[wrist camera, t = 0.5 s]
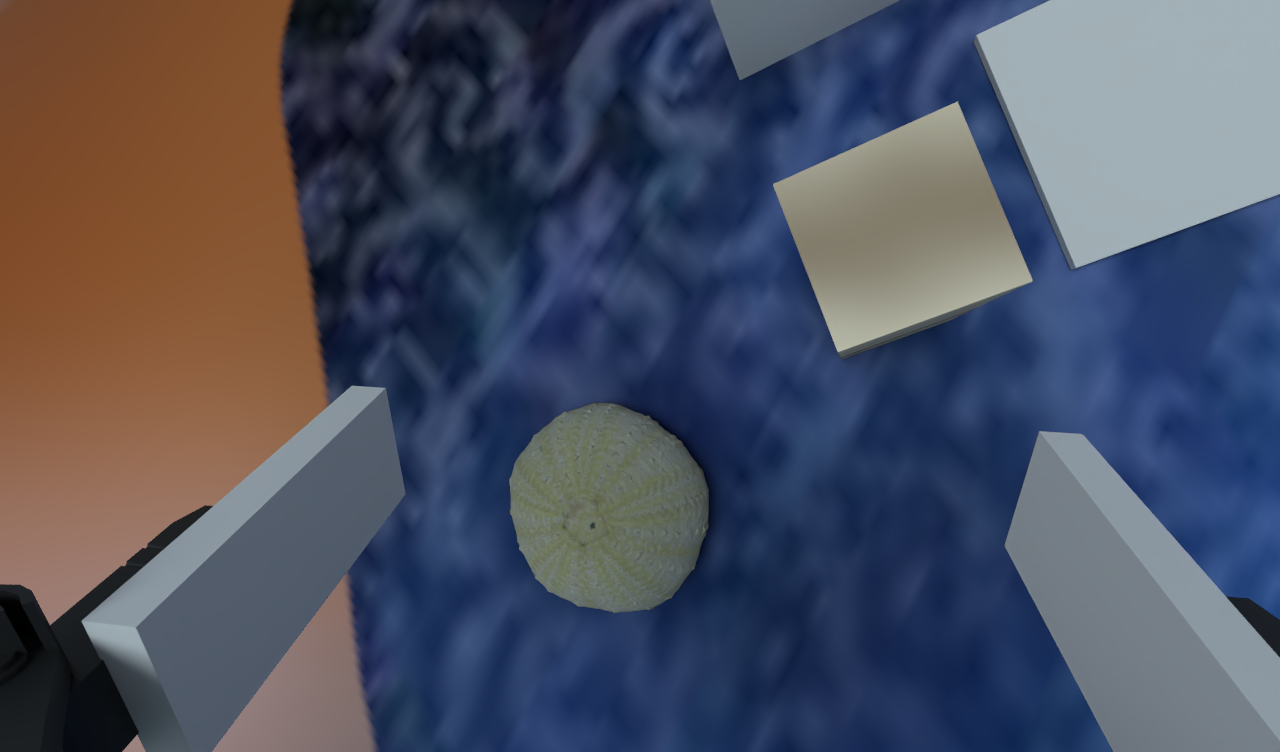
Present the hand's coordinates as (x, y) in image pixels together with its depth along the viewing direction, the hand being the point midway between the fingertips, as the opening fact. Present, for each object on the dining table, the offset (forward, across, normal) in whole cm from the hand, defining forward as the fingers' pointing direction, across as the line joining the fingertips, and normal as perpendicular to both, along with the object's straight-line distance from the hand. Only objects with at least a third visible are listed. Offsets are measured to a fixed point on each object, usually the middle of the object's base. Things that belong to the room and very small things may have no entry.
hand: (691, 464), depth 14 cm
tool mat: (+18, -16, -6) cm, 25 cm away
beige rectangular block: (+16, -7, +2) cm, 18 cm away
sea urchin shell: (+14, +4, +12) cm, 19 cm away
